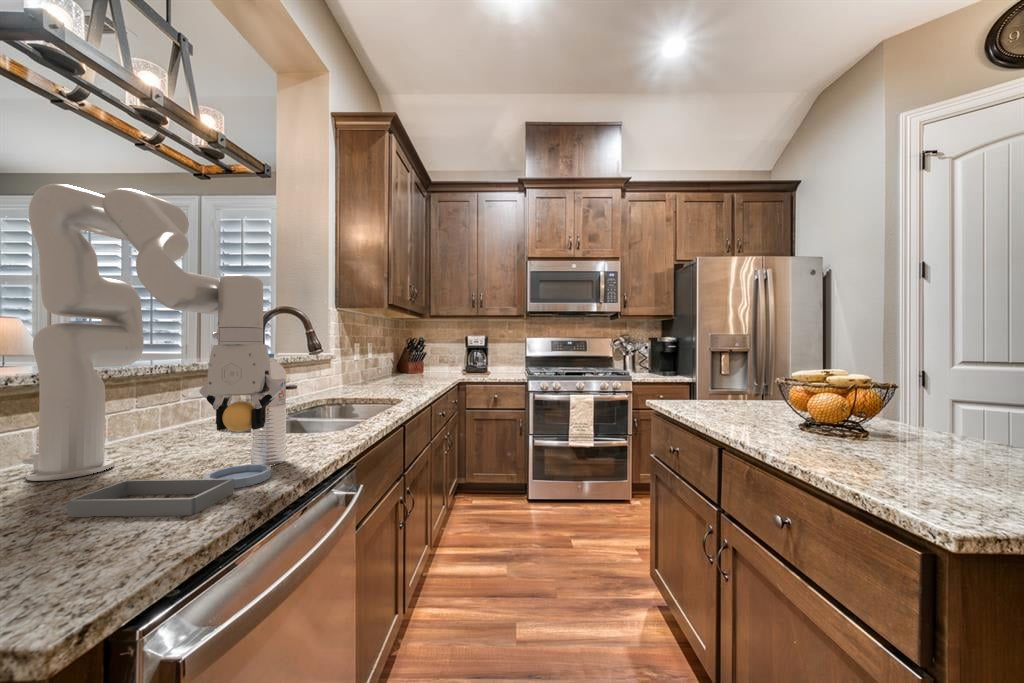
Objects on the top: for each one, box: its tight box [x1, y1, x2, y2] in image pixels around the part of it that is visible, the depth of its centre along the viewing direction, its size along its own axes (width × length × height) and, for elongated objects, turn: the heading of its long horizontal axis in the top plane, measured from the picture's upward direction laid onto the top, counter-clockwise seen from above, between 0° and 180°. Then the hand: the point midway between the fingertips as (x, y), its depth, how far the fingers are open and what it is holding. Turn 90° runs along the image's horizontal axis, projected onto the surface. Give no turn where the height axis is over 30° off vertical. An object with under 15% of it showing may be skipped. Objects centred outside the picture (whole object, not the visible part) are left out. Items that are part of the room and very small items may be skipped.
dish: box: [204, 463, 272, 490], centre depth 80 cm, size 11×11×2 cm
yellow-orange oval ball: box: [222, 400, 255, 433], centre depth 80 cm, size 6×6×6 cm
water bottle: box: [250, 353, 287, 466], centre depth 92 cm, size 7×7×25 cm
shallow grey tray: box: [66, 478, 234, 518], centre depth 68 cm, size 19×10×2 cm, turn 92°
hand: (241, 427), depth 80 cm, fingers closed on yellow-orange oval ball, 5 cm apart
